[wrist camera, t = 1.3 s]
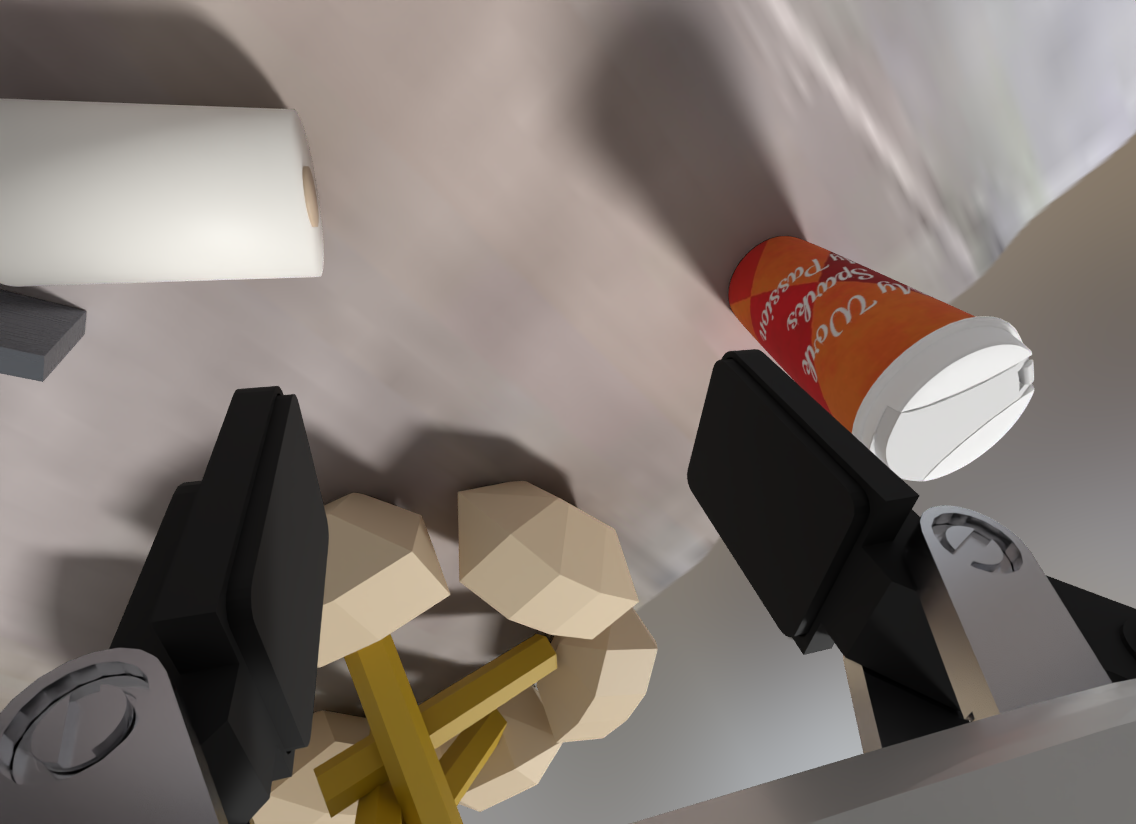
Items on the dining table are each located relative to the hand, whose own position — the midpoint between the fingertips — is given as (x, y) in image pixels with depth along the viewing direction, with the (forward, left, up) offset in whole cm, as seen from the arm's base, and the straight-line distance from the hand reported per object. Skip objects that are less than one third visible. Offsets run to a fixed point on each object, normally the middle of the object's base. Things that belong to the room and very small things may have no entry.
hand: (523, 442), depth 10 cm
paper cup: (+6, +19, -20) cm, 28 cm away
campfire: (+34, -3, -20) cm, 40 cm away
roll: (0, -10, -20) cm, 22 cm away
